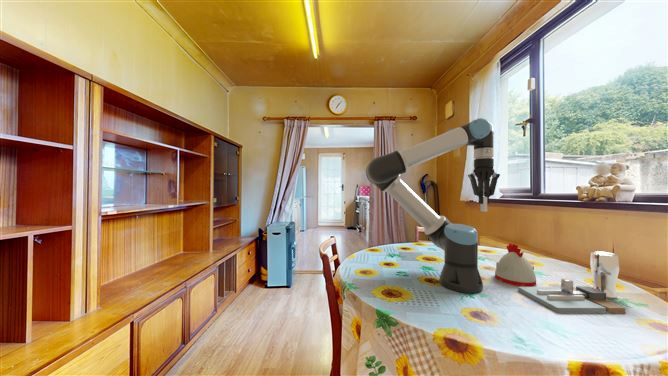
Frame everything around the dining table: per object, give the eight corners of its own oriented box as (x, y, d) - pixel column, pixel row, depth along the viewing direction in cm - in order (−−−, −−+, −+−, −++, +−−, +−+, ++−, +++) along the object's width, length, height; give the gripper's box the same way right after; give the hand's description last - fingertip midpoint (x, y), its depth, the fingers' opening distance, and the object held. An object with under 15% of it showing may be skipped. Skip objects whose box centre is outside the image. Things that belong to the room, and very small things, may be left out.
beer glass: (625, 300, 84) (625, 256, 84) (601, 298, 85) (601, 255, 85) (607, 291, 91) (607, 251, 91) (585, 290, 92) (585, 250, 92)
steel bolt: (566, 297, 81) (566, 282, 81) (558, 293, 84) (558, 278, 84) (596, 297, 81) (596, 282, 81) (587, 293, 84) (587, 278, 84)
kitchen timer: (518, 274, 109) (518, 240, 109) (545, 286, 95) (545, 248, 95) (487, 274, 109) (487, 241, 109) (511, 286, 95) (511, 248, 95)
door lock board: (557, 312, 75) (557, 299, 75) (518, 290, 91) (518, 280, 91) (625, 313, 75) (625, 300, 75) (574, 291, 91) (574, 280, 91)
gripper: (472, 157, 105) (473, 212, 105) (504, 157, 104) (504, 212, 104) (464, 159, 113) (464, 210, 112) (493, 159, 112) (494, 210, 112)
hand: (483, 211), depth 108 cm, fingers closed
